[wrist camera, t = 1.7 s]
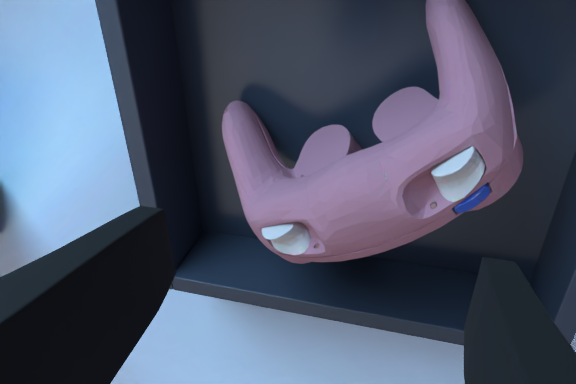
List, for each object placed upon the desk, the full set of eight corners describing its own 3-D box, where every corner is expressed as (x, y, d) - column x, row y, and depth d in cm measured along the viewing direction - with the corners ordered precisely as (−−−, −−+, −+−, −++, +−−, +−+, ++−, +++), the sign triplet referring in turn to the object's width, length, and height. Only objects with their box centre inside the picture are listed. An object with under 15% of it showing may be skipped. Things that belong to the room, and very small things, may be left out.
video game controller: (282, 158, 22) (281, 301, 18) (213, 99, 19) (194, 256, 15) (500, 55, 17) (565, 219, 13) (454, -44, 14) (521, 129, 10)
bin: (707, -145, 12) (795, -155, 9) (544, 293, 21) (561, 365, 18) (136, -129, 16) (64, -132, 13) (192, 236, 25) (157, 286, 22)
